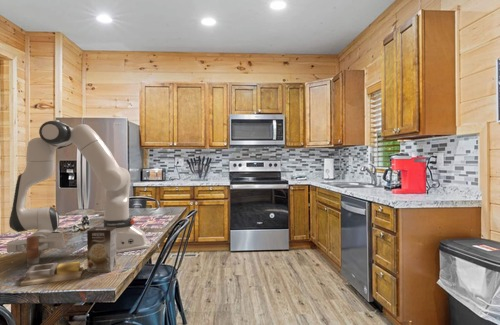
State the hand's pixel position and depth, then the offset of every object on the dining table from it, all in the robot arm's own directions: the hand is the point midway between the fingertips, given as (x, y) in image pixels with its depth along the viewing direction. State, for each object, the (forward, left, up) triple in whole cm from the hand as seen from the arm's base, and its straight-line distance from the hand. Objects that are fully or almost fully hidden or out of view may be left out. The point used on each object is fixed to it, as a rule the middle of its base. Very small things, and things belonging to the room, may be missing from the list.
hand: (32, 249), depth 127 cm
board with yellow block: (-10, +13, -8) cm, 18 cm away
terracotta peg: (0, -1, -8) cm, 8 cm away
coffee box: (-26, +13, -8) cm, 30 cm away
